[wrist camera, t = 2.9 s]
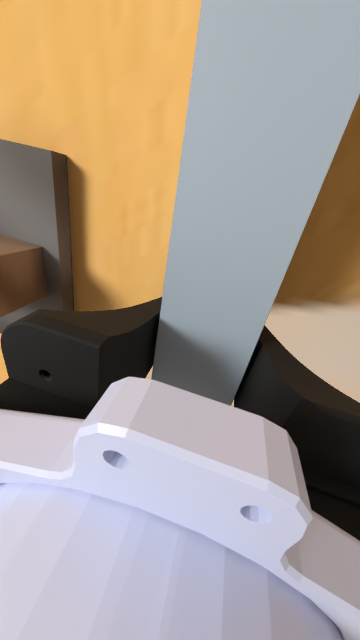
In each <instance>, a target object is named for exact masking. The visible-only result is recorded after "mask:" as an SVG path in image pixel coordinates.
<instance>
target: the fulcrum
mask: <svg viewBox="0 0 360 640" xmlns="http://www.w3.org/2000/svg"><path fill="white" fill-rule="evenodd" d="M38 309H46V310H58V311H72V312H74V306H73V285H72V264H71V244H70V223H69V202H68V181H67V161H66V155H64V154H60V153H57V152H53V151H49V150H45V149H41V148H36V147H32V146H28V145H23V144H19V143H15V142H10V141H6V140H2V139H0V333H2V331H3V330H4V329H5V328H6V326H7V325H9V324H11V323H13V322H15V321H17V320H19V319H21V318H22V317H24V316H26V315H28V314H30V313H32V312H34V311H36V310H38Z"/></svg>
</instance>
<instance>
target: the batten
mask: <svg viewBox="0 0 360 640" xmlns="http://www.w3.org/2000/svg"><path fill="white" fill-rule="evenodd" d="M359 95H360V0H202V4H201V11H200V19H199V26H198V34H197V41H196V49H195V56H194V64H193V71H192V79H191V86H190V94H189V101H188V109H187V116H186V124H185V131H184V139H183V146H182V154H181V161H180V169H179V176H178V184H177V191H176V199H175V206H174V214H173V221H172V229H171V236H170V244H169V251H168V259H167V266H166V274H165V281H164V289H163V296H162V304H161V311H160V319H159V326H158V334H157V341H156V349H155V356H154V364H153V371H152V380H156V381H159V382H162V383H165V384H168V385H171V386H173V387H176V388H179V389H182V390H185V391H188V392H191V393H194V394H197V395H200V396H203V397H206V398H209V399H212V400H215V401H218V402H221V403H224V404H227V405H230V406H231V404H232V402H233V399H234V397H235V394H236V392H237V390H238V387H239V385H240V382H241V380H242V378H243V375H244V373H245V370H246V368H247V365H248V363H249V361H250V358H251V356H252V353H253V351H254V349H255V346H256V344H257V341H258V339H259V336H260V334H261V332H262V329H263V327H264V324H265V322H266V319H267V317H268V315H269V312H270V310H271V307H272V305H273V303H274V300H275V298H276V295H277V293H278V290H279V288H280V286H281V283H282V281H283V278H284V276H285V274H286V271H287V269H288V266H289V264H290V261H291V259H292V257H293V254H294V252H295V249H296V247H297V245H298V242H299V240H300V237H301V235H302V232H303V230H304V228H305V225H306V223H307V220H308V218H309V216H310V213H311V211H312V208H313V206H314V203H315V201H316V199H317V196H318V194H319V191H320V189H321V186H322V184H323V182H324V179H325V177H326V174H327V172H328V170H329V167H330V165H331V162H332V160H333V157H334V155H335V153H336V150H337V148H338V145H339V143H340V141H341V138H342V136H343V133H344V131H345V128H346V126H347V124H348V121H349V119H350V116H351V114H352V112H353V109H354V107H355V104H356V102H357V99H358V97H359Z"/></svg>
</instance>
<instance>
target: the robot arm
mask: <svg viewBox="0 0 360 640" xmlns="http://www.w3.org/2000/svg"><path fill="white" fill-rule="evenodd" d="M161 304H162V297H160V298H158V299H155V300H152V301H149V302H146V303H143V304H139V305H136V306H132V307H128V308H123V309H117V310H107V311H95V312H72V311H58V310H46V309H38V310H36V311H34V312H32V313H30V314H28V315H26V316H24V317H22V318H21V319H19V320H17V321H15V322H13V323H11V324H9V325H7V326H6V328H5V329H4V330H3V331H2V336H1V348H2V353H3V357H4V360H5V364H6V368H7V372H8V376H9V378H8V379H7V380H6V381H4V382H3V383H2V384H0V640H360V403H359V402H357V401H355V400H354V399H352V398H350V397H349V396H347V395H345V394H343V393H342V392H340V391H339V390H337V389H335V388H334V387H332V386H331V385H330V384H328V383H327V382H325V381H324V380H322V379H321V378H319V377H318V376H317V375H315V374H314V373H313V372H311V371H310V370H309V369H308V368H306V367H305V366H304V365H303V364H301V363H300V362H299V361H298V360H297V359H296V358H295V357H294V356H293V355H292V354H290V353H289V352H288V350H286V349H285V347H284V346H283V345H282V344H281V343H280V342H279V341H278V340H277V339H276V338H275V337H274V336H273V335H272V333H271V332H270V331H269V330H268V329H267V328H266V326H265V325H264V327H263V329H262V332H261V334H260V336H259V339H258V341H257V344H256V346H255V349H254V351H253V353H252V356H251V358H250V361H249V363H248V365H247V368H246V370H245V373H244V375H243V378H242V380H241V382H240V385H239V387H238V390H237V392H236V394H235V397H234V407H232V406H230V405H227V404H224V403H221V402H218V401H215V400H212V399H209V398H206V397H203V396H200V395H197V394H194V393H191V392H188V391H185V390H182V389H179V388H176V387H173V386H171V385H168V384H165V383H162V382H159V381H156V380H152V379H145V378H146V376H147V374H148V372H149V371H150V369H151V368H152V366H153V364H154V356H155V349H156V341H157V334H158V326H159V319H160V311H161Z"/></svg>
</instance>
